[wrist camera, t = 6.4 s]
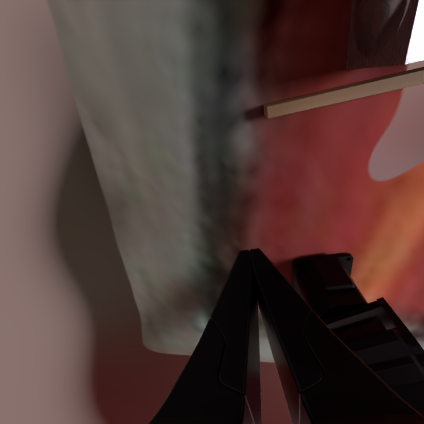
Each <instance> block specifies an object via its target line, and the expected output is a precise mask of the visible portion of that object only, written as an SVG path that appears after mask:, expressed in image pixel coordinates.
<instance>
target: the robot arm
mask: <svg viewBox="0 0 424 424" xmlns="http://www.w3.org/2000/svg"><path fill="white" fill-rule="evenodd" d="M352 263H353V257H352V255H351V254H349V253H347V254H339V255H331V256H323V257H315V258H307V259H299V260H295V261H293V263H292V266H293V287H292V285H291V284H290V283H289V282H288V281H287V280H286V278H285V277H284V276H283V275H282V274H281V273H280V272H279V270H278V269H277V268H276V267H275V266H274V265H273V263H272V262H271V261H270V260H269V259H268V258H267V257H266V255H265V254H264V253H263V252H262V251H261V250H260V249H259V248H257V249H251V250H250V251H249V250H242V251H239V253H238V255H237V258H236V260H235V262H234V264H233V267H232V269H231V271H230V273H229V276H228V278H227V280H226V283H225V285H224V287H223V289H222V292H221V294H220V296H219V298H218V301H217V303H216V305H215V308H214V310H213V312H212V314H211V317H210V318H211V319H209V321H208V323H207V326H206V328H205V330H204V332H203V334H202V336H201V338H200V340H199V343H198V344H197V346H196V348H195V350H194V352H193V354H192V355H191V357H190V359H189V361H188V362H187V364H186V366H185V368H184V369H183V371H182V373H181V375H180V376H179V378H178V380H177V381H176V383H175V385H174V386H173V388H172V390H171V392H170V393H169V395H168V397H167V398H166V400H165V402H164V403H163V405H162V406H161V408H160V409H159V411H158V412H157V413H156V415H155V416H154V417H153V419H152V420H151V421H150V422H149V423H148V424H262V413H261V384H260V354H259V325H258V305H259V309H260V312H261V316H262V319H263V323H264V326H265V330H266V333H267V337H268V340H269V344H270V347H271V351H272V354H273V358H274V361H275V365H276V368H277V372H278V375H279V379H280V382H281V386H282V389H283V393H284V396H285V400H286V403H287V407H288V410H289V414H290V417H291V421H292V424H424V350H423V348H422V347H421V346H420V344H419V343H418V342H417V340H416V339H415V338H414V336H413V335H412V334H411V332H410V331H409V330H408V329H407V327H406V326H405V325H404V324H403V322H402V321H401V320H400V318H399V317H398V316H397V315H396V313H395V312H394V311H393V310H392V308H391V307H390V306H389V304H388V303H387V302H386V301H385V299H384V298H383V297H382V298H379V299H377V301H374V302H371V303H367V301H366V300H365V298H364V297H363V295H362V294H361V292H360V291H359V289H358V288H357V286H356V284H355V283H354V281H353V280H352V278H351V277H350V274H351V269H352ZM252 269H253V270H252ZM255 288H256V289H255ZM256 294H257V295H256ZM302 297H303V298H302ZM257 300H258V302H257Z"/></svg>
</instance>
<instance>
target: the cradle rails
mask: <svg viewBox="0 0 424 424" xmlns="http://www.w3.org/2000/svg"><path fill="white" fill-rule="evenodd" d="M423 83H424V67H421V68H417V69H413V70H408V71H404V72H400V73H396V74H391V75H387V76H383V77H379V78H375V79H370V80H366V81H362V82H358V83H353V84H349V85H345V86H341V87H336V88H332V89H328V90H324V91H319V92H315V93H311V94H307V95H303V96H298V97H294V98H290V99H286V100H281V101H277V102H273V103H269V104H264V116H265V117H267V118H272V117H277V116H281V115H286V114H290V113H295V112H299V111H303V110H308V109H312V108H317V107H321V106H326V105H330V104H334V103H339V102H343V101H348V100H352V99H357V98H361V97H365V96H370V95H374V94H379V93H383V92H388V91H392V90H396V89H401V88H405V87H409V86H414V85H419V84H423Z"/></svg>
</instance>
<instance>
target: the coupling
mask: <svg viewBox="0 0 424 424" xmlns="http://www.w3.org/2000/svg"><path fill="white" fill-rule="evenodd" d="M422 60H424V0H352V10H351V19H350V29H349V39H348V49H347V58H346V68H345V70H349V69H360V68H371V67H382V66H393V65H404V64H409V63H413V62H417V61H422Z"/></svg>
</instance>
